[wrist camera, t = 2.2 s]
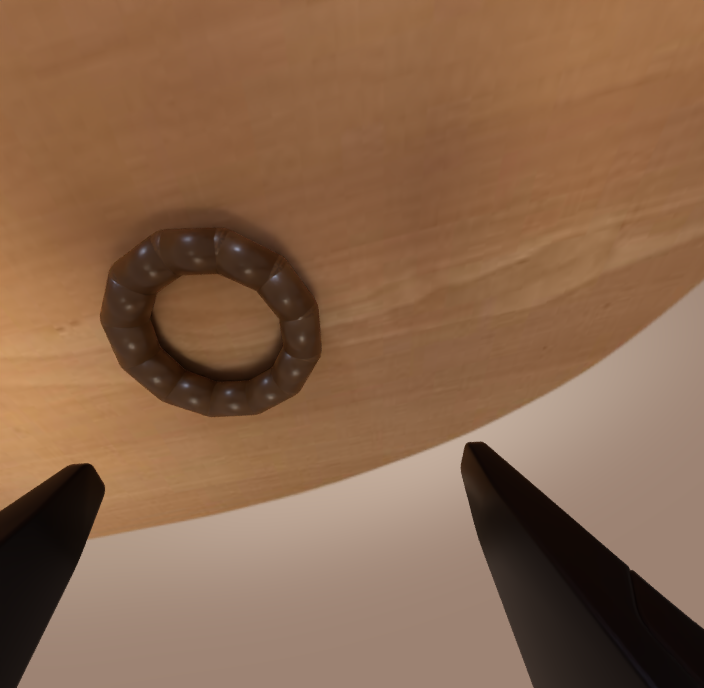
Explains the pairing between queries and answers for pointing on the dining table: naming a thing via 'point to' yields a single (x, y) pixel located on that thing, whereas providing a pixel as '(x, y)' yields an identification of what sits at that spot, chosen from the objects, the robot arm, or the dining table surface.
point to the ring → (196, 259)
